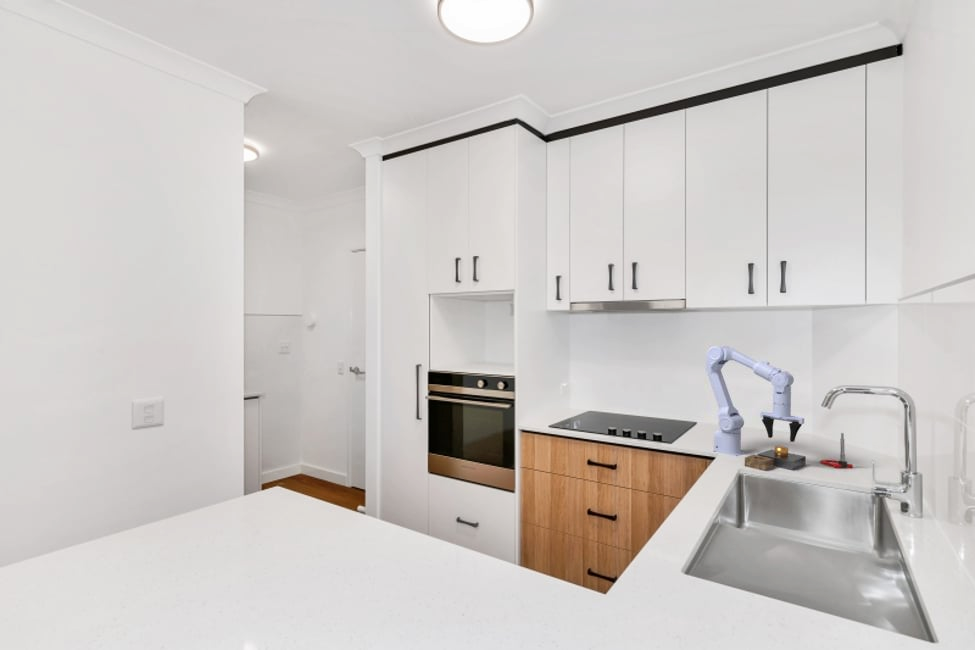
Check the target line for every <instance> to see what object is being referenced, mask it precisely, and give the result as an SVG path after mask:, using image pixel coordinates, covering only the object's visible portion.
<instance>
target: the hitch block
mask: <svg viewBox="0 0 975 650" xmlns="http://www.w3.org/2000/svg"><path fill="white" fill-rule="evenodd" d="M774 450H775V449H769V450H765V451H763V452H759V453H757V454H756V455H758V456H763V457H767V458H772V459H774V460H773V468H774V467H776V468H779V469H784V470H788V471H792V470H793V471H794V470H797V469H800V468H802V467H804V466H806V457H807V456H805V455H801V454H796V453H791V452H788V457H780V456H776V455H774Z"/></svg>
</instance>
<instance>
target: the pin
mask: <svg viewBox="0 0 975 650" xmlns="http://www.w3.org/2000/svg"><path fill="white" fill-rule="evenodd" d="M773 450H774V455H776V456H780V457H788V453H789V447H788V446H782V445H774V449H773Z"/></svg>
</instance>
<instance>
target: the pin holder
mask: <svg viewBox="0 0 975 650" xmlns="http://www.w3.org/2000/svg"><path fill="white" fill-rule="evenodd" d="M773 460H774V459H772V458H767V457H763V456H758V455H757V454H751V455H748V456H746V457H745V456H744V467H746V468H750V469H755V470H758V471H763V472H766V471H768V470H771V469H774V466H773Z"/></svg>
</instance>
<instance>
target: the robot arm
mask: <svg viewBox="0 0 975 650" xmlns="http://www.w3.org/2000/svg"><path fill="white" fill-rule="evenodd" d="M705 357H706V362H705V371H706V373H707V374H706V375H707V376H708V380H709V382H710V386H711V389H712V391H713V393H714V397H715V400H716V403H717V405H718V409H719V410H718V413H717V417H718V426H719V429H716V430H715V432H714V436H713V450H712V451H713V452H714V453H720V454H723V455H724V454H725V455H729V456H733V457H738V456H740V455H741V456H742V455H744V454H746V452H745V451H741V450H742V449H741V447H742V443H741V442H742V430H741V429H742V428H744V424H745V420H744V418H743V417H742V416H741V414H740V412H739V410H738V409H737V408H736V407H735V406H734V403H733V402H732V399H731V395H730V393H729V390H728V387H727V384H726V381H725V379H724V376H723V373H722V368H723V366H724V365H725V364H726V363H728V362H729V361H735V362H737V363H739V364H741V365H743V366H745V367H747V368H749V369H752V371H753V373H754V375H756V376H759V377H760V378H761V379H763V380H766V381H767V382H770V383H771V385H772V386H773V390H772V391H773V393H772V398H773V399H772V402H773V403H772V412H764V411H761V412H759V413H760V415H759V416H760V417H759V418H761V422H762V423H763V426H764V428H765V429H766V432H767V437H768V439H769V438H770V439H771V438H773V437H774V432H773V431H774V421H775V420H777V421H783V422H788V425H789V426H788V427H789V432H790V433H789V435H790V437H789V440H790V443H794V442H795V440H796V437H797V435H798V432H799V430H800V429H801V427H802V425H803V424H805V418H804V417H800V416H794V415H791V413H792V412H791V411H792V410H791V408H792V385H793V384H794V382H795V381H794V380H795V379H794V376H793V375H792V374H791V373H790V372H789V371H782V369H781V368H779V367H778V368H776V367H775V366H773V365H771V364H770V362H768V361H762V360H761V361H757V360H754V359H753V358H752V357H750V356H747V355H746V354H744V353H742V352H740V351H739V350H738V349H736V348H732V347H730V346H728V345H722V346H721V345H720V346H717V345H716V346H715V345H713V346H711V347H710V348H709V349H708V350H707V352H706V353H705ZM789 422H790V423H789Z"/></svg>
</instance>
